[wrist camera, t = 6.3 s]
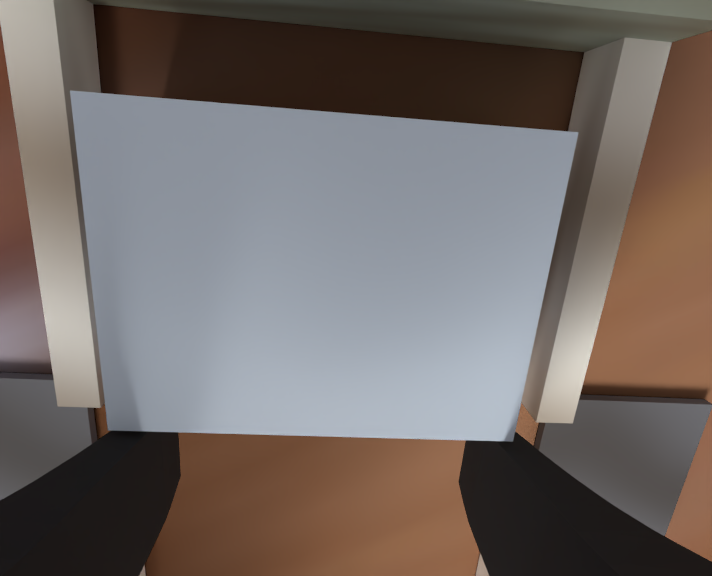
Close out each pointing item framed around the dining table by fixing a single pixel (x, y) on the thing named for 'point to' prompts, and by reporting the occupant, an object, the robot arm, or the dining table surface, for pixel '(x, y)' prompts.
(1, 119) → the dining table surface
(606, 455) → the trap lane
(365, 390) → the block
